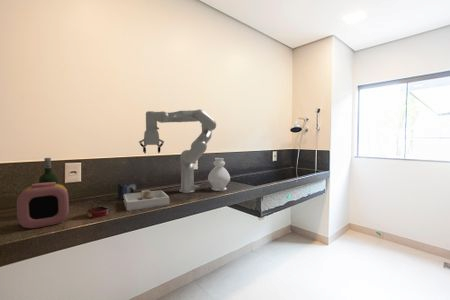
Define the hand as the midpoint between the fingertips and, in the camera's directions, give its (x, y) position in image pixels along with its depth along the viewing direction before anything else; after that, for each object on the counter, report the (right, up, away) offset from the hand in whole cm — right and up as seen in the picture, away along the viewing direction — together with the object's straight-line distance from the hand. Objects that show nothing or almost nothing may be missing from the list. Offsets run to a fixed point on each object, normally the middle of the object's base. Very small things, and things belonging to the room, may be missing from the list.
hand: (151, 153), depth 160 cm
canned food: (-15, -33, -41) cm, 54 cm away
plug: (+3, -30, -20) cm, 37 cm away
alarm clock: (-34, -33, -53) cm, 71 cm away
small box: (-14, -31, -8) cm, 35 cm away
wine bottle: (-43, -32, -39) cm, 66 cm away
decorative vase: (+48, -30, +21) cm, 60 cm away
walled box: (+3, -31, -20) cm, 37 cm away
